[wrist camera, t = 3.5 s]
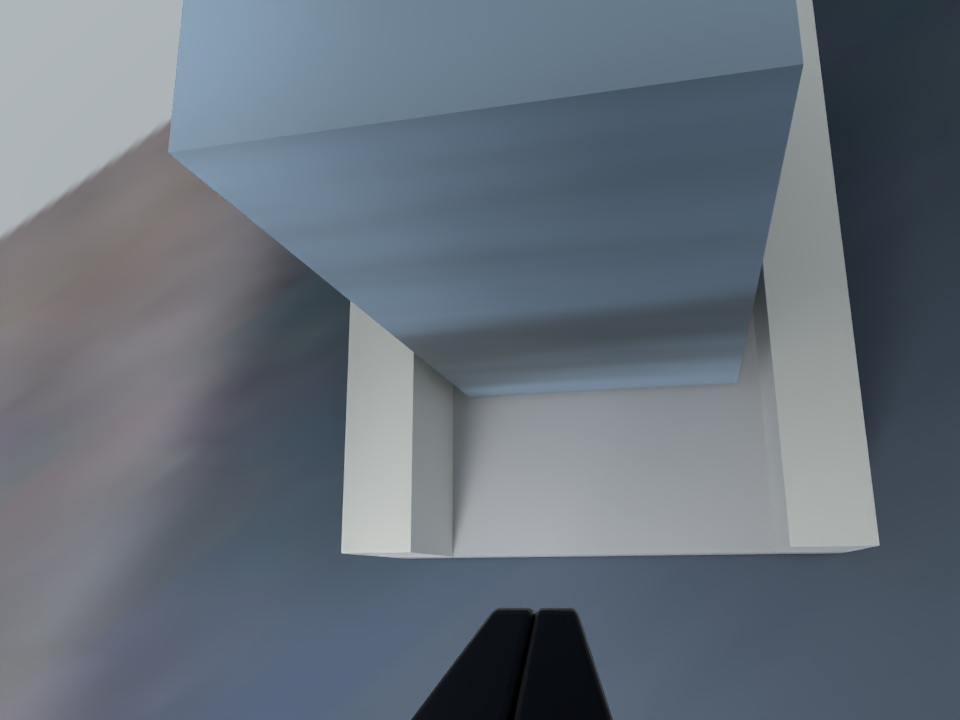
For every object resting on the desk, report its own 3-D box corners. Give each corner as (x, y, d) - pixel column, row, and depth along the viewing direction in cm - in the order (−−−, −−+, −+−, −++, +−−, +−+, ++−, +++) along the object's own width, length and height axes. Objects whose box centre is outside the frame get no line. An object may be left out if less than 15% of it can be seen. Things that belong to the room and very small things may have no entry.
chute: (841, 552, 15) (879, 546, 12) (405, 558, 17) (341, 553, 14) (786, 63, 18) (806, -48, 15) (413, 115, 20) (359, 27, 16)
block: (737, 382, 15) (803, 63, 6) (469, 397, 16) (168, 152, 7) (716, 134, 17) (742, -452, 7) (469, 165, 18) (214, -307, 8)
